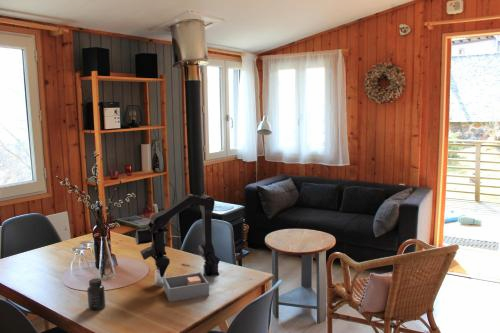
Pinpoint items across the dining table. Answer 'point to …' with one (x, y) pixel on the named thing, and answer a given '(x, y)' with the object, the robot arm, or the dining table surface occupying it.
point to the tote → (185, 287)
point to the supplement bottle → (96, 295)
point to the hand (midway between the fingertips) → (160, 273)
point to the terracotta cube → (193, 280)
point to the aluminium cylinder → (159, 278)
